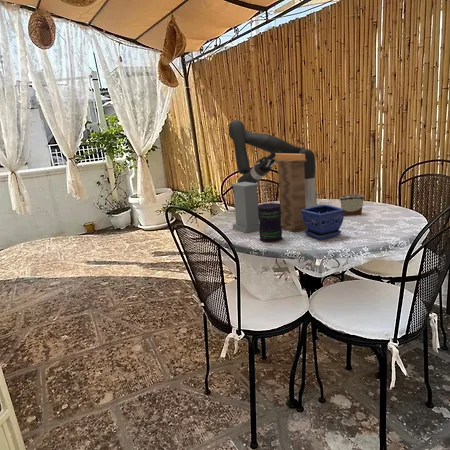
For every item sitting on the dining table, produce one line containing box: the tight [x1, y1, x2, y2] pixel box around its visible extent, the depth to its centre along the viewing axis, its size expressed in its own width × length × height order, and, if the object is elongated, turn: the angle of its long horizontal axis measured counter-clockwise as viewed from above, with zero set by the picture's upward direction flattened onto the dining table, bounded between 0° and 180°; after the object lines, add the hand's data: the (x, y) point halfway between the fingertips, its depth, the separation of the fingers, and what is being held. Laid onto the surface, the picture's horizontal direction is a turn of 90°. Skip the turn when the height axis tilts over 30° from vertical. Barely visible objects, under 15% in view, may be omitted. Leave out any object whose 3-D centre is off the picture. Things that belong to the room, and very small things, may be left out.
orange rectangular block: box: [268, 153, 305, 161], centre depth 164 cm, size 22×3×2 cm, turn 29°
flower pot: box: [301, 204, 345, 241], centre depth 153 cm, size 13×13×12 cm
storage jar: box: [258, 202, 283, 243], centre depth 154 cm, size 10×10×15 cm
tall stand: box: [275, 159, 308, 233], centre depth 166 cm, size 12×10×32 cm
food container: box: [338, 193, 365, 217], centre depth 183 cm, size 12×6×10 cm, turn 84°
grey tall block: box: [230, 182, 260, 234], centre depth 173 cm, size 12×10×22 cm
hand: (277, 153), depth 169 cm, fingers closed on orange rectangular block, 3 cm apart
